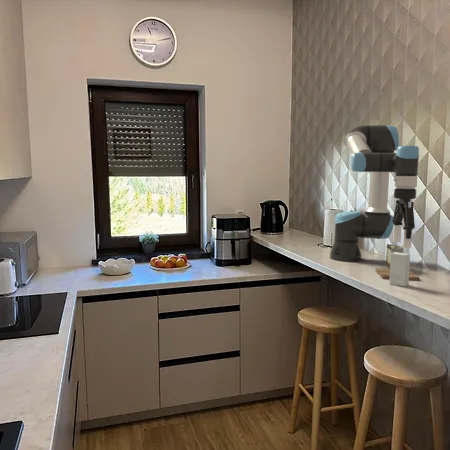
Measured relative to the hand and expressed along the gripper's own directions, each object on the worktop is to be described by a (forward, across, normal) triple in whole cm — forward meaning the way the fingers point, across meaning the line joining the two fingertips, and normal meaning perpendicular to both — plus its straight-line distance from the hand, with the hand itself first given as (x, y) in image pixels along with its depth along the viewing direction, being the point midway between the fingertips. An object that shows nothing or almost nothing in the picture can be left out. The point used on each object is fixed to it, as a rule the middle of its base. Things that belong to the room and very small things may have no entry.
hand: (401, 244), depth 157 cm
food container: (+15, -30, +6) cm, 34 cm away
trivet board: (+15, -16, +3) cm, 22 cm away
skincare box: (+16, 0, 0) cm, 16 cm away
